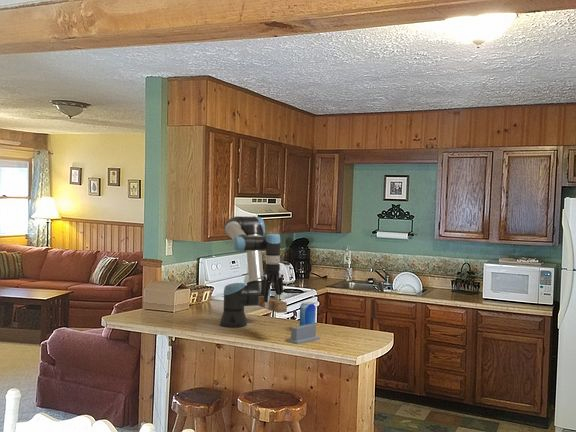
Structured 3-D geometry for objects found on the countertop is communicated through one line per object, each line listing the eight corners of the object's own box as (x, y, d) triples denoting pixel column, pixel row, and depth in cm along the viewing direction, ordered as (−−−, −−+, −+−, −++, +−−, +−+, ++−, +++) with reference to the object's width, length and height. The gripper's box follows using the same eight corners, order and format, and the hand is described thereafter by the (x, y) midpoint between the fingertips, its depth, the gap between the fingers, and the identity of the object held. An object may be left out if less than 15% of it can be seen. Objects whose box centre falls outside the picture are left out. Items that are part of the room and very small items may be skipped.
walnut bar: (258, 305, 318) (258, 296, 318) (266, 305, 321) (266, 296, 320) (277, 312, 297) (277, 302, 297) (286, 312, 299) (286, 302, 299)
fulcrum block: (286, 341, 301) (287, 327, 301) (308, 336, 312) (309, 322, 312) (297, 344, 295) (298, 329, 295) (319, 339, 306) (320, 325, 306)
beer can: (305, 329, 329) (306, 300, 328) (317, 331, 323) (318, 302, 323) (296, 331, 322) (297, 302, 322) (308, 334, 317) (309, 304, 316)
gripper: (263, 265, 299) (262, 310, 300) (290, 263, 312) (290, 306, 312) (254, 263, 305) (253, 308, 305) (281, 261, 318) (280, 304, 318)
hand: (271, 307), depth 309 cm, fingers closed on walnut bar, 6 cm apart
